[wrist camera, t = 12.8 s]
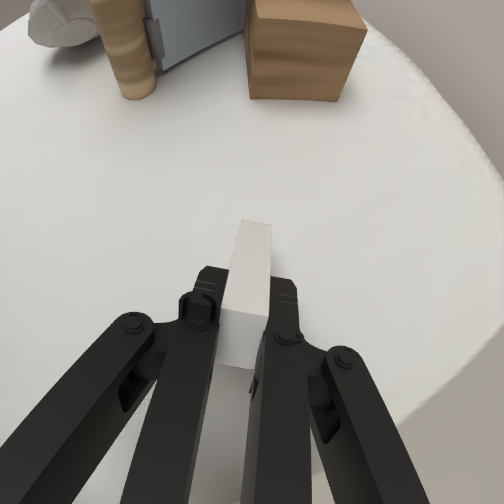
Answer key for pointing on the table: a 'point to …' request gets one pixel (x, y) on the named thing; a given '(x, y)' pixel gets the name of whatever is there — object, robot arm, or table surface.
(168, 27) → the door
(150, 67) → the brown long wooden part
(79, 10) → the headphones
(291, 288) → the robot arm
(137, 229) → the table surface
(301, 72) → the walnut block
